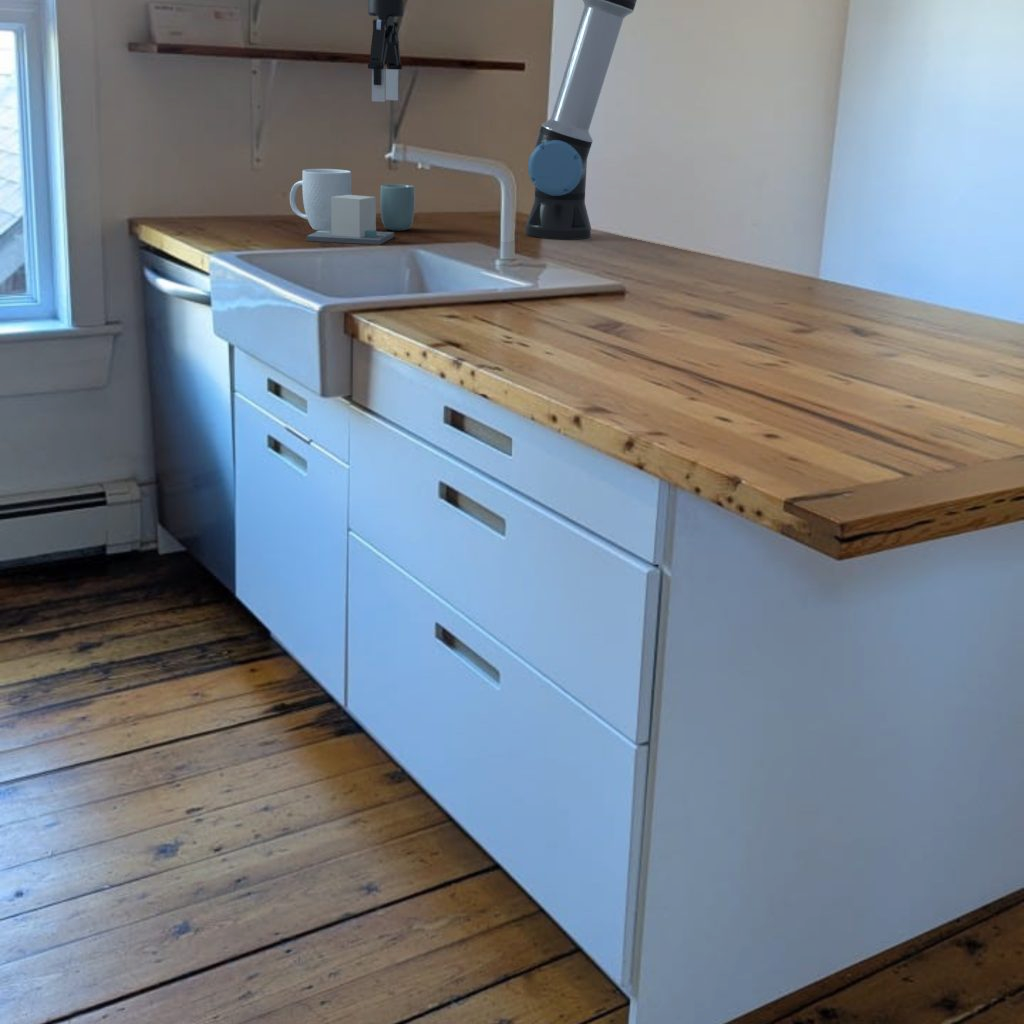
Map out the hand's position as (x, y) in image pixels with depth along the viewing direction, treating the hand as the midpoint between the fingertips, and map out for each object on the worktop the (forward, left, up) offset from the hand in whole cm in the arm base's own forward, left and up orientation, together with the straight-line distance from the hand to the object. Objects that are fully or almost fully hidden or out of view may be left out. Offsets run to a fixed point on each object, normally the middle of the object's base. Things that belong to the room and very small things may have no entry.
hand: (385, 101), depth 288 cm
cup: (-1, -9, -29) cm, 30 cm away
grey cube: (+4, +12, -28) cm, 30 cm away
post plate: (+5, +11, -29) cm, 31 cm away
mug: (+15, -3, -29) cm, 33 cm away
